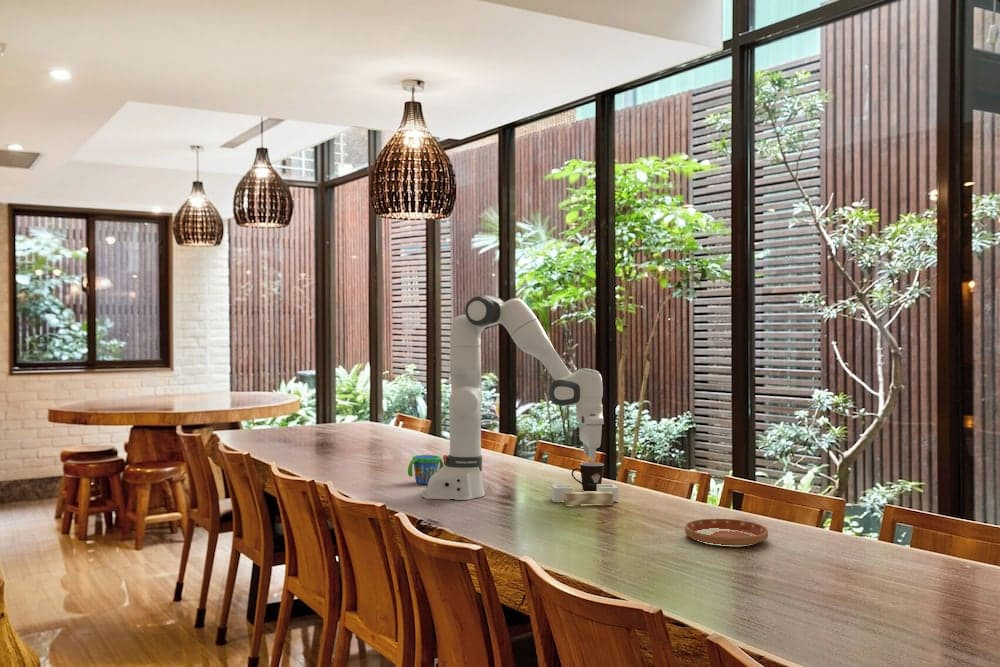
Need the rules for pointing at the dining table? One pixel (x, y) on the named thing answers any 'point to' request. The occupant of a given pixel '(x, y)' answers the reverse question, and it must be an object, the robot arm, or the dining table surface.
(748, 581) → the dining table surface
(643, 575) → the dining table surface
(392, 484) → the dining table surface
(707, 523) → the saucer
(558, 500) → the endcaps
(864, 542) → the dining table surface
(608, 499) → the slat
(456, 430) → the robot arm
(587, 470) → the coffee mug
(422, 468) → the snack cup
